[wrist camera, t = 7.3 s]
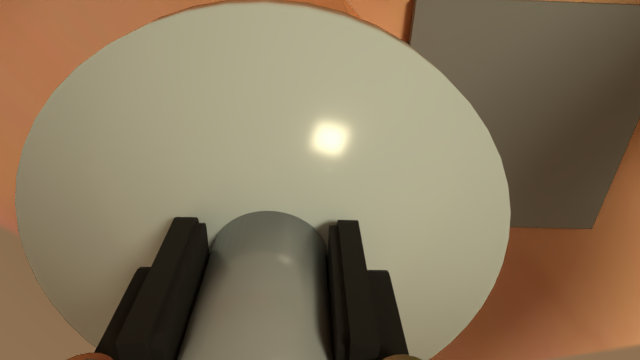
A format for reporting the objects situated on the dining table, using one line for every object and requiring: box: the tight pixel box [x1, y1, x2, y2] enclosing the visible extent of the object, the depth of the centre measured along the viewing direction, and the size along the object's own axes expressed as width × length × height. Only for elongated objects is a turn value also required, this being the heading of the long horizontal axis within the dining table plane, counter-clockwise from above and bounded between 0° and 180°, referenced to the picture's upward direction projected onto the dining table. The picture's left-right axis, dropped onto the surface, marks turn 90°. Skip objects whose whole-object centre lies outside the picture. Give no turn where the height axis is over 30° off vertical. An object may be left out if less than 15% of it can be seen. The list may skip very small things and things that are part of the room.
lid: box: [15, 0, 511, 360], centre depth 10 cm, size 13×13×6 cm
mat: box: [408, 0, 640, 229], centre depth 26 cm, size 14×14×1 cm
